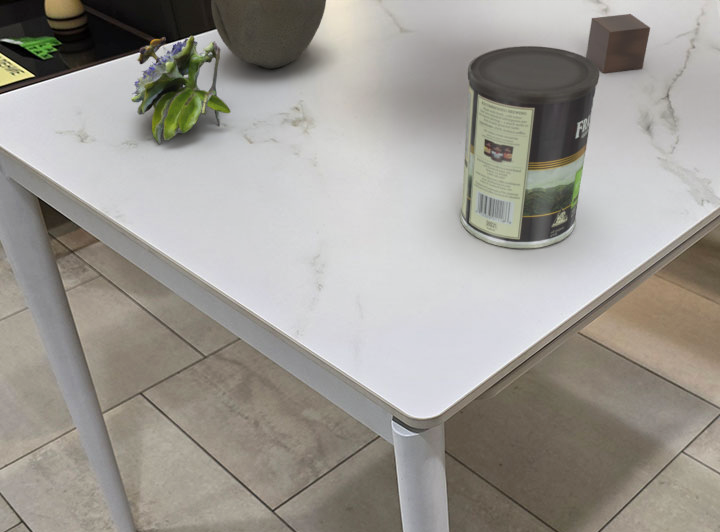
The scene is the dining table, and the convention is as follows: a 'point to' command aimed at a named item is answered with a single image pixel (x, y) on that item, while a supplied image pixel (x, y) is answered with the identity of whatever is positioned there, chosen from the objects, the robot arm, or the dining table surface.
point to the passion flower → (176, 87)
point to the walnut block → (617, 43)
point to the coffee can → (526, 144)
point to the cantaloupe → (267, 28)
